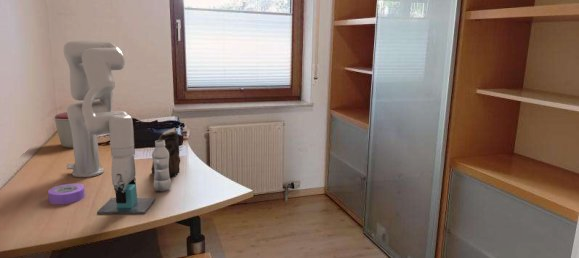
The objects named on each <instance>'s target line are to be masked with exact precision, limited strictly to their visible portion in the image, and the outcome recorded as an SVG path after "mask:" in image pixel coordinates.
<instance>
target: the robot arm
mask: <svg viewBox="0 0 579 258" xmlns="http://www.w3.org/2000/svg"><path fill="white" fill-rule="evenodd" d="M63 55H64V58H65V60H66V63H67V65H68V68H69V85H70V87H69V90H70V96H71V97H72V99H73V100H75V101H77V102H74V103H73V102H72V103H71V104H69V105H68V107H67V108H66V112H67V115H68V119H69V122H70V126H71V132H72V140H73V148H72V149H73V157H74V163H67V164H66V169H67V170H72V172H71V175H72V177H75V178H92V177H96V176H100V175H102V174H103V173H104V172H105V169H104V167H103V166H100V165H101V164H100V154H99V153H100V151H99V144H98V136H101V135H107V134H109V141H110V142H109V143H110V153H111V154H110V155H111V157H112V158H111V183H112V185H113V189H114V193H115V198H116V203H126V192H124V191H125V186H126V185H127V184H132V185H136V186H137V182H136V181H137V180H136V179H137V178H136V163H135V155H136V151H135V150H136V149H135V137H134V136H135V135H134V124H133V123H134V122H133V118H132V116H131V115H129V114H128V113H127V112H126V111H124V110H118V111H116V110H114V109H113V102H114V100H113V99H114V97H113V96H114V93H113V92H114V91H113V90H114V89H115V87H116V82H115V78H114V77H113V76H114V75H113V72H112V71H121V70H123V69H124V68H125V65H126V64H125V63H126V62H125V61H126V60H125V55H124V54H123V52H122V50H121V49H120V48H119V47H118V46H117V45H115V44H113V42H110V41H107V40H105V41H103V40H72V41H67V42H66V43H65V44H64V46H63ZM113 110H114V111H113ZM119 186H122V188H121V187H119Z"/></svg>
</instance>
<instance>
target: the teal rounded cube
mask: <svg viewBox="0 0 579 258" xmlns="http://www.w3.org/2000/svg"><path fill="white" fill-rule="evenodd" d="M119 187H121V188H122V186H119ZM124 192H126V203H117V208H132V207H133V206H134V205H135V204H136V203H137V198H138V194H137V184H136V185H132V184H127V185H126V186H125V191H124Z"/></svg>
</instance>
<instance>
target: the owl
mask: <svg viewBox="0 0 579 258" xmlns="http://www.w3.org/2000/svg"><path fill="white" fill-rule="evenodd" d="M179 137H180V136H179V134H178V132H177V128H176V127H173V128H171V129H167V130H166V131H164V132H163V133H162V134H161V135H160V136H159V138H158V140H164V141H165V148H166V149H167V150H168V152H169V167H168V168H169V176H170V179H172V178H173V179H174V178H175V177H177V175H178V174H180V173H181V172H180V168H181V167H180V164H181V157H180V145H179ZM151 174H152V175H154V176H155V170H154V163H153V162H152V165H151Z"/></svg>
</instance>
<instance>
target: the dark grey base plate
mask: <svg viewBox="0 0 579 258" xmlns="http://www.w3.org/2000/svg"><path fill="white" fill-rule="evenodd" d="M155 201H156V198H155V197H137V203H136V204H135V205H134V206H133V207H132V208H117V203H116V197H111V198H109V200H108V201H106V202H105V204H104V205H102V206H101V208H99V209H98V210H97V211H96V214H97V215H145V214H146V213H147V212H148V211H149V210H150V208H151V207H152V205H154V203H155Z"/></svg>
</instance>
